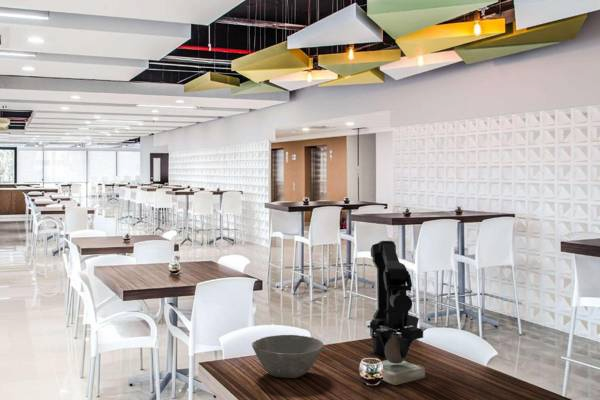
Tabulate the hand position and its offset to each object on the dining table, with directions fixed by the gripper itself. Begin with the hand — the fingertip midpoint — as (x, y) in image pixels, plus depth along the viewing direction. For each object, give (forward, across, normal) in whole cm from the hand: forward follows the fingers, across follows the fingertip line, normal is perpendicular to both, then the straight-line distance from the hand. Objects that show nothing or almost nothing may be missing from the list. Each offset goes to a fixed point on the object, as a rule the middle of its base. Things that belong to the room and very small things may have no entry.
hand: (395, 355), depth 178 cm
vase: (+2, 0, 0) cm, 2 cm away
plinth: (+6, 0, 0) cm, 6 cm away
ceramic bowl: (+7, +20, +28) cm, 35 cm away
